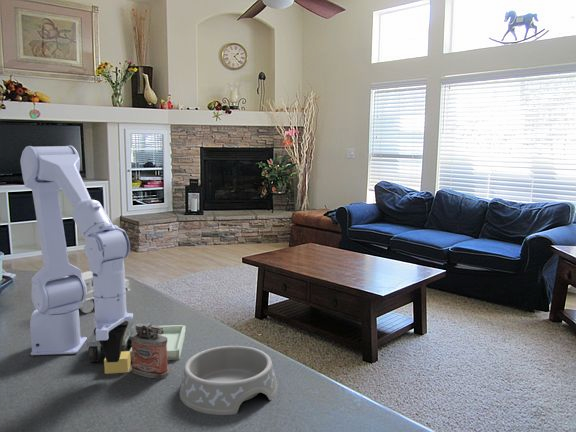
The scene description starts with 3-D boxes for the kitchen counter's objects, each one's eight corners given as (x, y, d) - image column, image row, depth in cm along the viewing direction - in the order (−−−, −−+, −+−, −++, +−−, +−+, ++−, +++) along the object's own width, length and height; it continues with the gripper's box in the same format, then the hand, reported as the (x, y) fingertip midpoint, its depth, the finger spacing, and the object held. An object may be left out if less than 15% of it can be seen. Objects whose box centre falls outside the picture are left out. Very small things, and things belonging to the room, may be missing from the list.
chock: (104, 374, 99) (104, 360, 98) (108, 366, 102) (107, 352, 102) (128, 372, 99) (127, 358, 99) (130, 364, 103) (130, 351, 102)
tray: (129, 361, 104) (128, 352, 103) (141, 334, 118) (141, 326, 117) (179, 359, 105) (179, 350, 104) (185, 332, 119) (185, 324, 118)
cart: (87, 365, 102) (85, 333, 101) (101, 343, 113) (99, 314, 112) (125, 363, 103) (123, 332, 102) (135, 341, 114) (134, 313, 113)
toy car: (135, 298, 144) (134, 264, 143) (75, 319, 127) (73, 281, 126) (111, 292, 149) (109, 259, 148) (50, 312, 132) (48, 276, 131)
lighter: (128, 372, 99) (125, 324, 97) (139, 365, 102) (136, 318, 100) (162, 380, 96) (160, 330, 94) (172, 372, 99) (170, 324, 97)
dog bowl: (163, 385, 95) (162, 359, 94) (245, 359, 106) (245, 335, 105) (207, 427, 81) (206, 396, 80) (296, 392, 92) (296, 365, 91)
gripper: (123, 305, 88) (126, 377, 90) (138, 281, 102) (141, 344, 105) (81, 306, 87) (86, 379, 90) (103, 282, 102) (106, 345, 104)
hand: (113, 360), depth 97 cm, fingers closed
